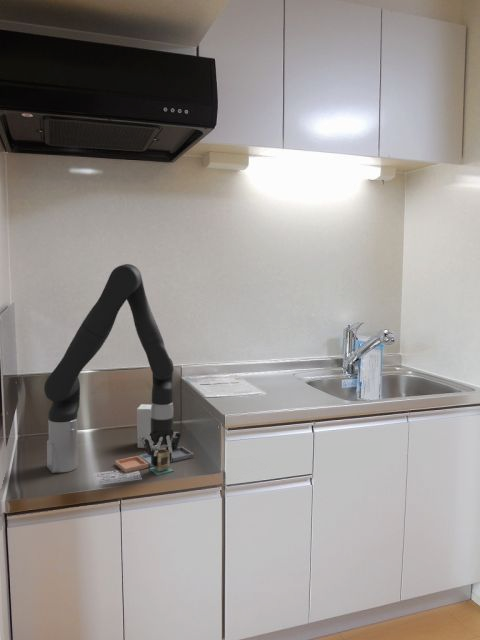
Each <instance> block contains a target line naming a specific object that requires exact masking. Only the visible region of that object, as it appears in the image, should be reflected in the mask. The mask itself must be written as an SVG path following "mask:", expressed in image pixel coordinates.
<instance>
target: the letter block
mask: <svg viewBox="0 0 480 640" xmlns="http://www.w3.org/2000/svg"><path fill="white" fill-rule="evenodd" d="M170 464H171V463H170V452H169V451H168V450H166V448H165V447H164V448H160V449H159V450H158V453H157V466H156V467H155V466H153V467H154V468H155V469H156V470H158V471H163V470H167V469H169V468H170Z"/></svg>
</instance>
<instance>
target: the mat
mask: <svg viewBox="0 0 480 640" xmlns="http://www.w3.org/2000/svg"><path fill="white" fill-rule="evenodd" d="M148 469H149V471H151V472H152V473H153V474H155V475H156V476H160V475H164V474H165V473H166V474H170V473H173V472H174V470H173V469H172V468H170V467H169V469H167V470H163V471H158V470H156V469H155V468H154V467H148Z"/></svg>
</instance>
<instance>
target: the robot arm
mask: <svg viewBox="0 0 480 640" xmlns="http://www.w3.org/2000/svg"><path fill="white" fill-rule="evenodd" d="M144 286H145V285H144V282H143V278H142V273H141V271H140V270H139V268H138V267H137V266H136V265H133V264H129V263H124V264H121V265H118V266H116V267H114V269H113V270H112V271H111V272H110V274H109V277H108V279H107V282H106V283H105V285H104V287H103V290H102V292H101V294H100V296H99V298H98V300H97V301H96V302H95V304H94V305H93V306H92V308H91V309H90V311H89V312H88V313H87V315H86V316H85V318H84V320H83V321H82V323H81V324H80V325H79V327H78V329H77V331H76V332H75V335H74V337H73V338H72V340H71V342H70V344H69V346H67V349H66V351H65V353H64V355H63V356H62V359H61V360H60V361H59V363H58V364H57V366H56V367H55V368H54V370H52V372H51V373H50V375H49V376H48V377H47V379H46V380H45V382H44V388H43V389H44V395H45V397H46V398H47V399H48V400H50V401H51V402H52V404H51V406H50V409H49V411H48V440H46V466H47V469H48V470H49V471H50V472H51V473H52V474H56V473H60V474H61V473H67V472H71V471H74V470H76V469H77V468H78V467H79V466H78V461H79V459H78V455H79V454H78V412H79V408H80V405H81V404H80V402H81V399H80V397H81V396H80V395H81V382H80V379H79V375H80V374H81V372H82V371H83V369H84V368H85V367H86V365H88V363H90V361H91V360H92V359H93V358H94V357H95V355H97V353H98V352H99V351H100V349H101V348H102V347H103V345H104V343H105V342H106V340H107V339H108V337H109V335H110V333H111V331H112V329H113V326H114V324H115V321H116V319H117V316H118V314H119V311H120V310H121V309H122V306H124V304H125V303H126V301H127V303H128V305H129V306H128V307H130V311H131V314H132V318H133V324H134V327H135V331H136V335H137V336H138V337H137V338H138V339H139V341H140V344H141V346H142V348H143V350H144V352H145V354H146V357H147V362H148V364H149V367H150V371H151V372H152V389H151V404H150V405H151V433H150V436H148V437H146V438H145V437H143V438H142V441H143V445H144V448H143V449H144V452H145V454H148V455H150V456H151V463H152V464H153V466H155V467H156V466H157V453H158V450H159V449H161V447H162V446H164V448H165V449H166V450H168V451H169V452H170V461H171V453H172V451H174V450H177V447H179V442H180V439H181V436H182V434H181V433H180V432H179V431H174V402H173V401H174V390H173V373H174V362H173V360H172V358H171V357H170V356H169V354H168V351H167V349H166V346H165V343H164V339H163V336H162V334H161V331H160V329H159V327H158V324H157V322H156V319H155V316H154V315H153V311H152V310H151V307H150V304H149V302H148V297H147V294H146V291H145V290H146V289H145V287H144ZM150 440H152V441H153V443H152V448H151V447H150ZM171 440H172V441H171Z"/></svg>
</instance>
